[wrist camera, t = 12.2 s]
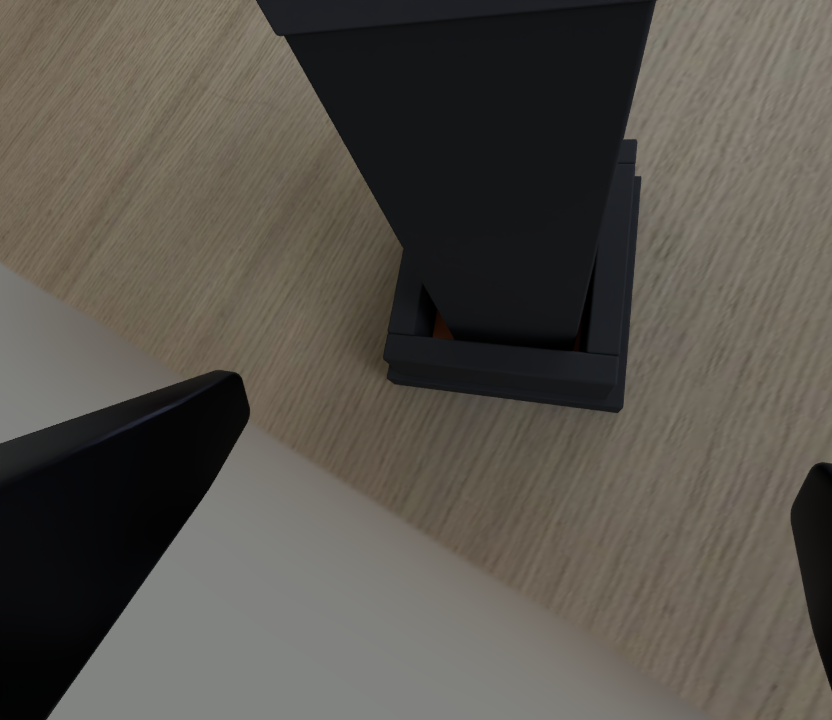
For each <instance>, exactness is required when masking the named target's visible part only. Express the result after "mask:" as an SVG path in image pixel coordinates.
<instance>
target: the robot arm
mask: <svg viewBox="0 0 832 720" xmlns="http://www.w3.org/2000/svg"><path fill="white" fill-rule="evenodd" d="M249 416H250V407H249V403H248V399H247V395H246V391H245V388H244V384H243V380H242V378H241V376H240V375H239V374H237V373H236V372H230V371H224V370H215V371H212V372H209V373H206V374H203V375H200V376H197V377H194V378H191V379H189V380H186V381H183V382H180V383H177V384H174V385H171V386H168V387H165V388H162V389H159V390H156V391H153V392H150V393H147V394H145V395H142V396H139V397H136V398H133V399H130V400H127V401H124V402H121V403H118V404H115V405H112V406H109V407H107V408H103V409H101V410H98V411H95V412H92V413H89V414H86V415H83V416H80V417H77V418H74V419H71V420H68V421H65V422H62V423H59V424H56V425H53V426H51V427H48V428H45V429H42V430H39V431H36V432H33V433H30V434H27V435H24V436H21V437H18V438H15V439H13V440H9V441H7V442H4V443H1V444H0V720H46V719H47V718H48V717H49V715H50V714H51V712H52V711H53V710H54V708H55V707H56V705H57V704H58V702H59V701H60V700H61V698H62V697H63V695H64V694H65V693H66V691H67V690H68V688H69V687H70V685H71V684H72V683H73V681H74V680H75V678H76V677H77V675H78V674H79V673H80V671H81V670H82V669H83V667H84V666H85V664H86V663H87V661H88V660H89V659H90V657H91V656H92V654H93V653H94V652H95V650H96V649H97V647H98V646H99V644H100V643H101V642H102V640H103V639H104V637H105V636H106V635H107V633H108V632H109V630H110V629H111V627H112V626H113V625H114V623H115V622H116V620H117V619H118V618H119V616H120V615H121V613H122V612H123V611H124V609H125V608H126V606H127V605H128V603H129V602H130V601H131V599H132V598H133V596H134V595H135V594H136V592H137V591H138V589H139V588H140V586H141V585H142V584H143V582H144V581H145V579H146V578H147V577H148V575H149V574H150V572H151V571H152V569H153V568H154V567H155V565H156V564H157V562H158V561H159V560H160V558H161V557H162V555H163V554H164V552H165V551H166V550H167V548H168V547H169V545H170V544H171V543H172V541H173V540H174V538H175V537H176V536H177V534H178V533H179V531H180V530H181V529H182V527H183V526H184V524H185V523H186V521H187V520H188V518H189V517H190V516H191V514H192V513H193V512H194V510H195V509H196V507H197V506H198V504H199V503H200V502H201V500H202V499H203V497H204V495H205V494H206V493H207V491H208V490H209V488H210V487H211V485H212V483H213V482H214V480H215V478H216V477H217V475H218V473H219V471H220V470H221V468H222V466H223V464H224V463H225V461H226V459H227V457H228V456H229V454H230V452H231V450H232V449H233V447H234V445H235V443H236V442H237V440H238V438H239V436H240V435H241V433H242V431H243V429H244V428H245V426H246V424H247V422H248V420H249ZM791 525H792V530H793V535H794V541H795V546H796V551H797V556H798V561H799V566H800V571H801V576H802V581H803V586H804V592H805V597H806V602H807V607H808V612H809V616H810V621H811V625H812V629H813V633H814V636H815V640H816V643H817V647H818V650H819V653H820V656H821V659H822V662H823V666H824V669H825V672H826V675H827V678H828V681H829V684H830V687H831V690H832V464H831V463H825V462H821V463H817V464H815V465H814V466H813V467H812V468H811V470H810V471H809V473H808V475H807V477H806V479H805V481H804V483H803V485H802V487H801V489H800V491H799V493H798V495H797V497H796V499H795V501H794V503H793V505H792V509H791Z"/></svg>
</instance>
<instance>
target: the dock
mask: <svg viewBox="0 0 832 720" xmlns="http://www.w3.org/2000/svg"><path fill="white" fill-rule="evenodd" d="M636 151H637V140H636V139H625V140H623V143H622V147H621V151H620V155H619V159H618V164H617V168H616V172H615V176H614V180H613V185H612V189H611V193H610V197H609V202H608V206H607V210H606V214H605V218H604V223H603V227H602V231H601V235H600V240H599V244H598V248H597V252H596V256H595V261H594V265H593V269H592V273H591V278H590V282H589V286H588V290H587V294H586V299H585V303H584V307H583V311H582V316H581V320H580V324H579V328H578V332H577V337H576V341H575V345H574V349H573V351H564V350H553V349H542V348H532V347H522V346H512V345H502V344H492V343H482V342H472V341H462V340H454V338H453V336H452V334H451V333H450V331H449V329H448V327H447V325H446V324H445V322H444V320H443V318H442V317H441V315H440V313H439V311H438V309H437V308H436V306H435V304H434V302H433V300H432V299H431V297H430V295H429V293H428V292H427V290H426V288H425V286H424V284H423V283H422V281H421V279H420V277H419V276H418V274H417V272H416V270H415V268H414V267H413V265H412V263H411V261H410V259H409V258H408V256H407V254H406V252H405V251H404V249H403V254H402V260H401V265H400V270H399V275H398V280H397V285H396V291H395V296H394V301H393V306H392V311H391V316H390V322H389V327H388V333H389V334H388V335H387V339H386V344H385V349H384V354H383V359H384V360H385V361H386V362H387V363H389V369H388V374H387V379H388V380H390V381H391V382H392V383H394V384H397V385H405V386H413V387H421V388H428V389H436V390H444V391H452V392H459V393H467V394H475V395H483V396H490V397H498V398H506V399H514V400H521V401H529V402H537V403H545V404H552V405H560V406H568V407H576V408H583V409H591V410H599V411H607V412H614V413H618V412H619V411H620V410H621V409H622V408H623V403H624V390H625V378H626V365H627V352H628V340H629V327H630V315H631V302H632V289H633V277H634V264H635V251H636V239H637V226H638V214H639V201H640V188H641V176H635V163H636Z"/></svg>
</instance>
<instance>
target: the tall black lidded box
mask: <svg viewBox="0 0 832 720" xmlns="http://www.w3.org/2000/svg"><path fill="white" fill-rule="evenodd" d="M256 1H257V3H258V5H259V6H260V8H261V10H262V12H263V13H264V15H265V17H266V19H267V20H268V22H269V24H270V25H271V27H272V29H273V31H274V32H275V34H276V35H278V36H284V37H285V38H286V40H287V42H288V44H289V46H290V47H291V49H292V51H293V53H294V54H295V56H296V58H297V60H298V62H299V63H300V65H301V67H302V69H303V71H304V72H305V74H306V76H307V78H308V79H309V81H310V83H311V85H312V87H313V88H314V90H315V92H316V94H317V95H318V97H319V99H320V101H321V103H322V104H323V106H324V108H325V110H326V112H327V113H328V115H329V117H330V119H331V120H332V122H333V124H334V126H335V128H336V129H337V131H338V133H339V135H340V136H341V138H342V140H343V142H344V144H345V145H346V147H347V149H348V151H349V153H350V154H351V156H352V158H353V160H354V161H355V163H356V165H357V167H358V169H359V170H360V172H361V174H362V176H363V177H364V179H365V181H366V183H367V185H368V186H369V188H370V190H371V192H372V194H373V195H374V197H375V199H376V201H377V202H378V204H379V206H380V208H381V210H382V211H383V213H384V215H385V217H386V218H387V220H388V222H389V224H390V226H391V227H392V229H393V231H394V233H395V235H396V236H397V238H398V240H399V242H400V243H401V245H402V247H403V249H404V251H405V252H406V254H407V256H408V258H409V259H410V261H411V263H412V265H413V267H414V268H415V270H416V272H417V274H418V276H419V277H420V279H421V281H422V283H423V284H424V286H425V288H426V290H427V292H428V293H429V295H430V297H431V299H432V300H433V302H434V304H435V306H436V308H437V309H438V311H439V313H440V315H441V317H442V318H443V320H444V322H445V324H446V325H447V327H448V329H449V331H450V333H451V334H452V336H453V338H454V340H462V341H472V342H482V343H492V344H502V345H512V346H522V347H532V348H542V349H553V350H564V351H573V349H574V345H575V341H576V337H577V332H578V328H579V324H580V320H581V316H582V311H583V307H584V303H585V299H586V294H587V290H588V286H589V282H590V278H591V273H592V269H593V265H594V261H595V256H596V252H597V248H598V244H599V240H600V235H601V231H602V227H603V223H604V218H605V214H606V210H607V206H608V202H609V197H610V193H611V189H612V185H613V180H614V176H615V172H616V168H617V164H618V159H619V155H620V151H621V147H622V143H623V138H624V134H625V130H626V126H627V121H628V117H629V113H630V109H631V105H632V100H633V96H634V92H635V88H636V83H637V79H638V75H639V71H640V67H641V62H642V58H643V54H644V50H645V45H646V41H647V37H648V33H649V29H650V24H651V20H652V16H653V12H654V7H655V3H656V0H256Z"/></svg>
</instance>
